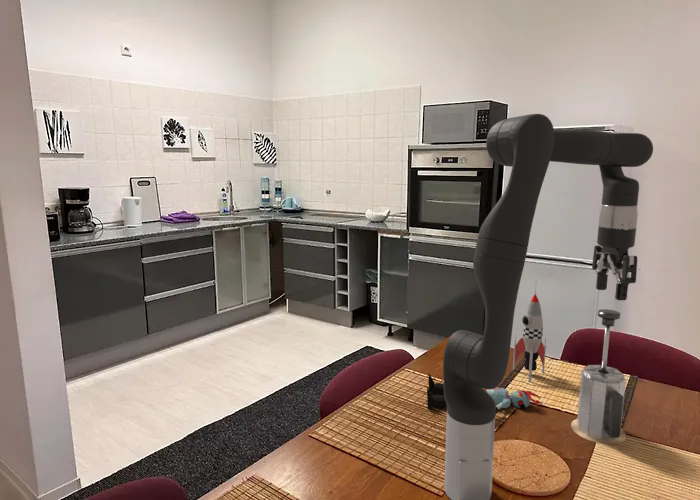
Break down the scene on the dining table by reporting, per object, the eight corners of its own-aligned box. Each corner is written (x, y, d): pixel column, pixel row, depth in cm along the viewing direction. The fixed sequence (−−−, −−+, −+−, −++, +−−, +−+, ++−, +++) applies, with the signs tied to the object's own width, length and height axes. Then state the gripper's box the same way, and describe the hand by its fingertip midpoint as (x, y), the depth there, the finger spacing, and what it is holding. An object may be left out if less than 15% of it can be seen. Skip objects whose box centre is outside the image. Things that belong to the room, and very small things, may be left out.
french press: (634, 447, 112) (641, 385, 110) (593, 447, 112) (599, 386, 110) (607, 420, 124) (613, 363, 121) (570, 420, 124) (574, 364, 121)
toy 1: (429, 359, 148) (534, 362, 142) (430, 383, 150) (534, 387, 144) (425, 400, 124) (551, 405, 118) (426, 428, 125) (551, 434, 119)
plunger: (622, 391, 114) (630, 316, 111) (595, 391, 114) (602, 316, 111) (608, 379, 121) (615, 308, 117) (582, 379, 121) (588, 308, 117)
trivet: (636, 446, 114) (636, 443, 114) (585, 446, 114) (585, 444, 114) (609, 419, 126) (609, 417, 125) (562, 419, 126) (562, 417, 125)
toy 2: (510, 369, 155) (516, 277, 150) (533, 366, 158) (539, 275, 152) (529, 382, 147) (535, 285, 141) (552, 378, 149) (559, 282, 144)
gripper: (585, 221, 117) (579, 286, 120) (617, 229, 103) (610, 303, 106) (616, 221, 117) (610, 286, 120) (653, 229, 103) (645, 303, 106)
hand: (610, 294), depth 113 cm, fingers open, 8 cm apart
